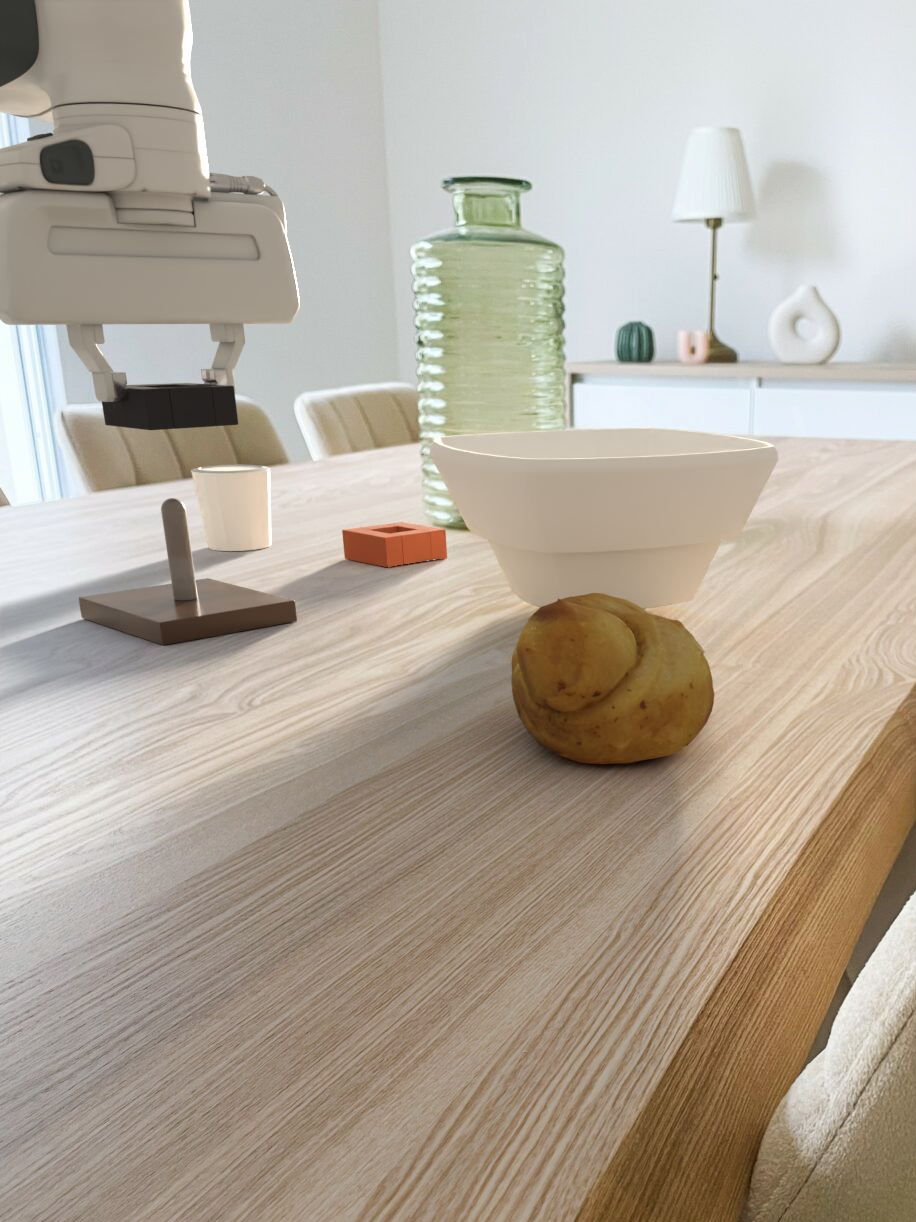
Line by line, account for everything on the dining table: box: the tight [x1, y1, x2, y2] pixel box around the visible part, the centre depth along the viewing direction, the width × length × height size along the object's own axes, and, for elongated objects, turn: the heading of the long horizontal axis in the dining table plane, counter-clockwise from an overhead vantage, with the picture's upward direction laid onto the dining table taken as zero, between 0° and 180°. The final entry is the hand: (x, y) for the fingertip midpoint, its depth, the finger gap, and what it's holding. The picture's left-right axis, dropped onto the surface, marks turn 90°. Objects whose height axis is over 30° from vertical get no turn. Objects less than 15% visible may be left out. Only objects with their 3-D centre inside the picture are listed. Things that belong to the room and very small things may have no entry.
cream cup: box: [190, 463, 272, 552], centre depth 119 cm, size 7×7×7 cm
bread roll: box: [510, 593, 715, 765], centre depth 64 cm, size 13×10×8 cm
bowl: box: [429, 427, 779, 610], centre depth 93 cm, size 22×22×12 cm
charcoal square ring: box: [101, 382, 239, 431], centre depth 88 cm, size 6×6×2 cm
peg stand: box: [78, 497, 298, 646], centre depth 90 cm, size 12×10×8 cm
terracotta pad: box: [341, 521, 448, 568], centre depth 114 cm, size 6×6×2 cm
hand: (167, 398), depth 87 cm, fingers closed on charcoal square ring, 6 cm apart
